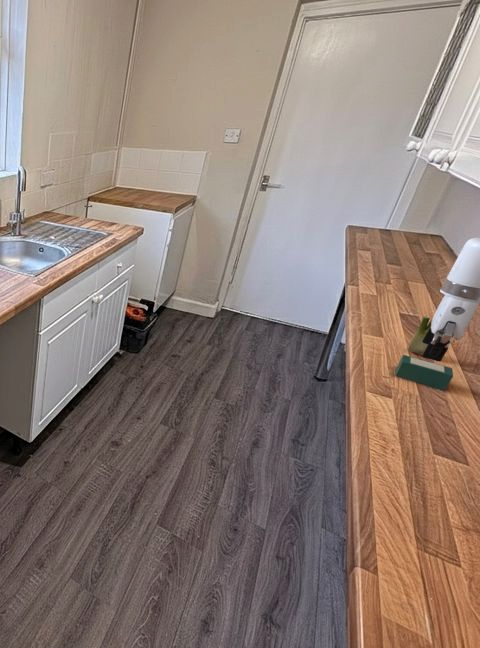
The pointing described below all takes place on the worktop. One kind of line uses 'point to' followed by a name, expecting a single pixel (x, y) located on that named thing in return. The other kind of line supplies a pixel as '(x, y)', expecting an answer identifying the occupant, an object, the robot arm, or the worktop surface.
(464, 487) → the worktop surface
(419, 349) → the fennel bulb
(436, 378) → the tea packet
